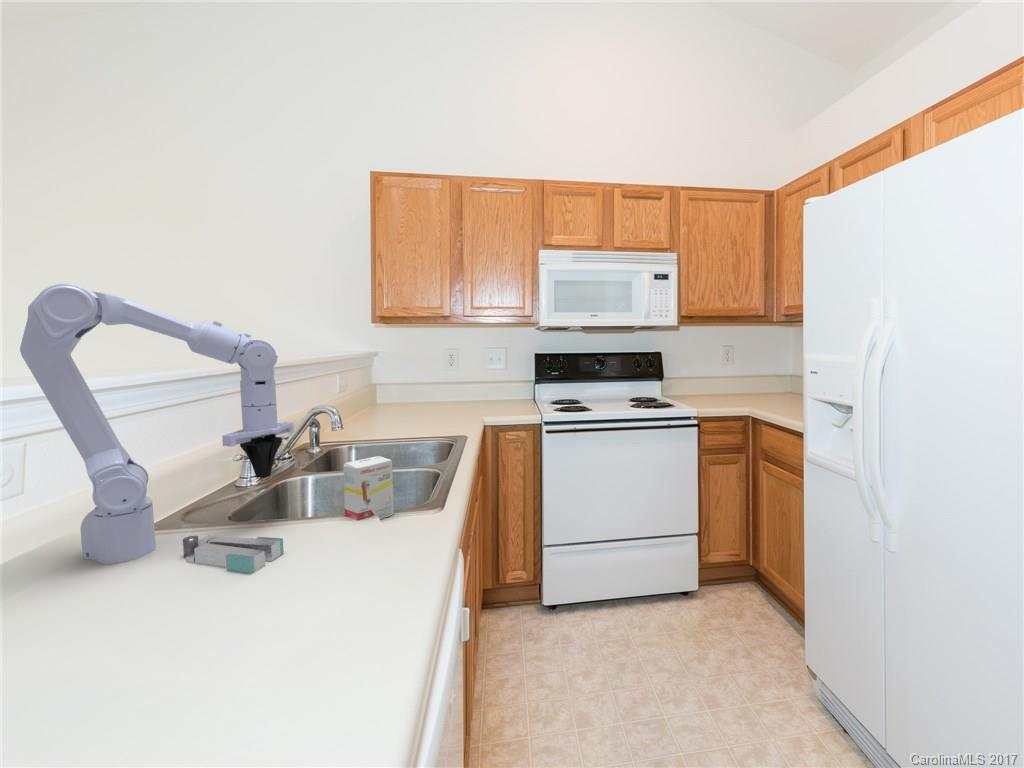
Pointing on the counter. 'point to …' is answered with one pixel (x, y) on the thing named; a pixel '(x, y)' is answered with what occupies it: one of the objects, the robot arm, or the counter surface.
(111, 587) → the counter surface
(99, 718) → the counter surface
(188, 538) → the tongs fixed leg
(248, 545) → the bar
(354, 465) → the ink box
